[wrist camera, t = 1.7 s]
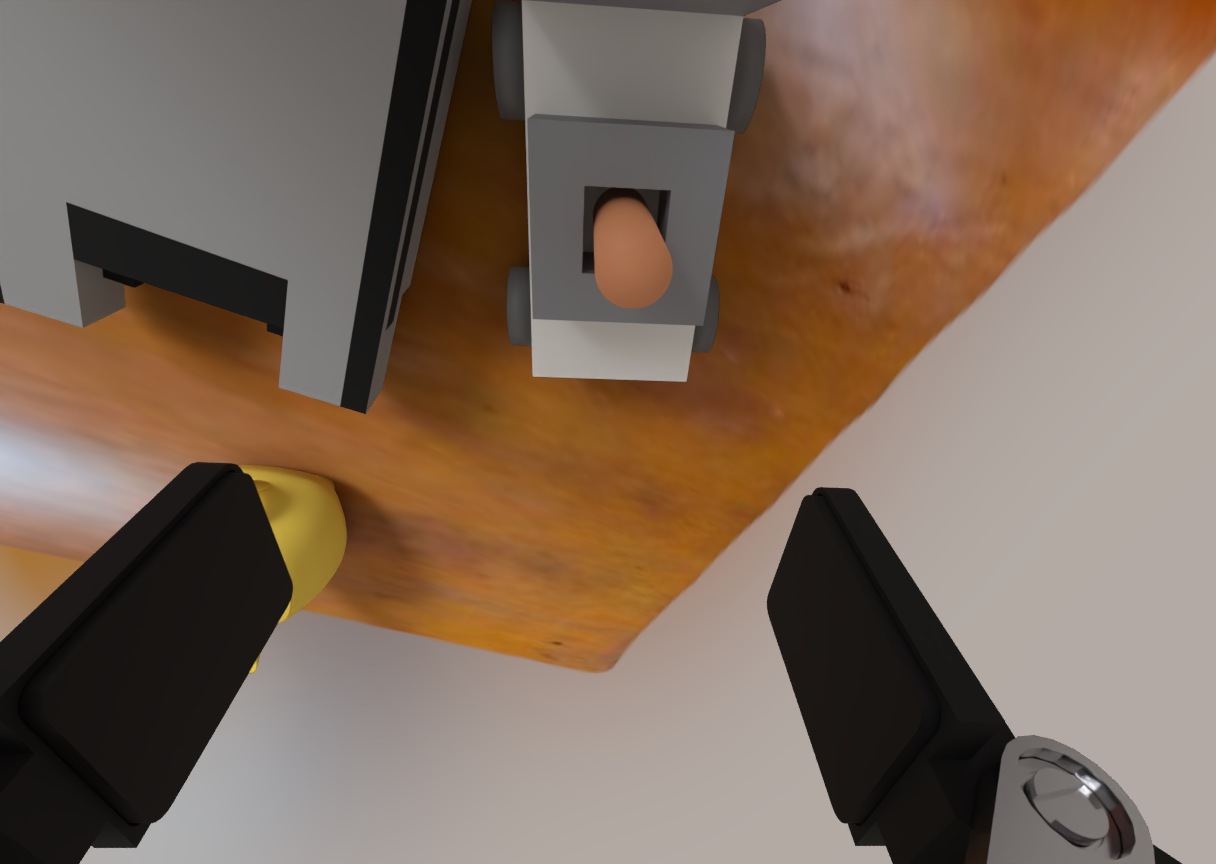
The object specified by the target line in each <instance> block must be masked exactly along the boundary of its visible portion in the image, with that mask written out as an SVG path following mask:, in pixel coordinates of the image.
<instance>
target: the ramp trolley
mask: <svg viewBox="0 0 1216 864" xmlns="http://www.w3.org/2000/svg"><path fill="white" fill-rule="evenodd" d="M778 1H781V0H522V2H516V1H502V0H496V1H495V3H494V8H493V19H492V54H493V71H494V83H495V92H496V99H497V105H498V110H499V114H500V117H501V119H504V120H521V121H525V129H526V164H527V198H528V233H529V267H516V266H511V268H510V271H509V276H508V286H507V324H508V335H509V340H510V343H511V345H518V346H532V371H533V377H561V378H591V379H620V380H650V381H680V382H687V375H688V369H689V363H690V356H691V352H709V351H710V349H711V347H712V345H713V342H714V339H715V335H716V330H717V324H718V315H719V289H718V283H717V280H716V277H715V276H713V275H712V269H713V263H714V257H715V250H716V244H717V238H718V232H719V226H720V220H721V214H722V208H723V202H724V196H725V190H726V184H727V177H728V171H729V165H730V159H731V153H732V147H733V141H734V135H735V134H742V133H743V132H744V131H745V130H746V128H747V127H748V125H749V123H750V120H751V118H752V115H753V112H754V109H755V106H756V103H757V99H758V95H759V90H760V86H761V81H762V75H763V68H764V60H765V48H766V34H765V26H764V23H763V21H762V20H761V19H749V18H743V16H745V15H747V14H750V13H752V12H755V11H757V10H759V9H762V8H764V7H766V6H769V5H771V4H774V3H776V2H778ZM611 187H616V188H633V189H635V190H636V191H638V192H639V193H640V194H641V195H642V197H643V198H644V200H645V202H646V204H647V206H648V208H649V210H650V212H651V214H652V217H653V219H654V221H655V223H656V225H657V227H658V229H659V231H660V234H661V236H662V238H663V240H664V242H665V244H666V246H667V248H668V250H669V253H670V255H671V258H672V264H673V273H672V278H671V281H670V284H669V286H668V288H667V290H666V291H665V293H664V294H663V295H662V296H661V297H660V298H659V299H658V300H657V301H655V302H654V303H652V304H650V305H648V306H646V307H642V308H637V309H627V308H622V307H619V306H617V305H615V304H613V303H611V302H610V301H608V300H607V299H606V298H605V297H604V295H603V294H602V293H601V291H600V290H599V288H598V286H597V283H596V279H595V264H594V231H593V210H594V206H595V203H596V201H597V199H598V198H599V196H600V195H601V194H602V193H603V192H604V191H606V190H607V189H609V188H611Z"/></svg>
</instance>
